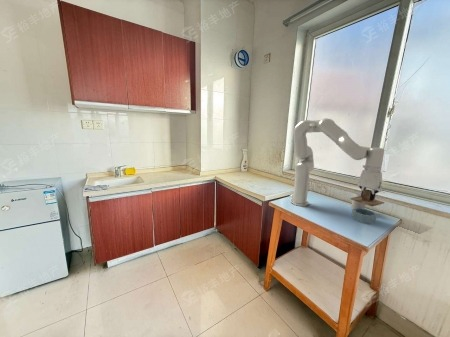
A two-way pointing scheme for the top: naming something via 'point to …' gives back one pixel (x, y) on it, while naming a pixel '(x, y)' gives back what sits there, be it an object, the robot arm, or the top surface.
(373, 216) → the bowl
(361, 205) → the can
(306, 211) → the top surface
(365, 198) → the lid
